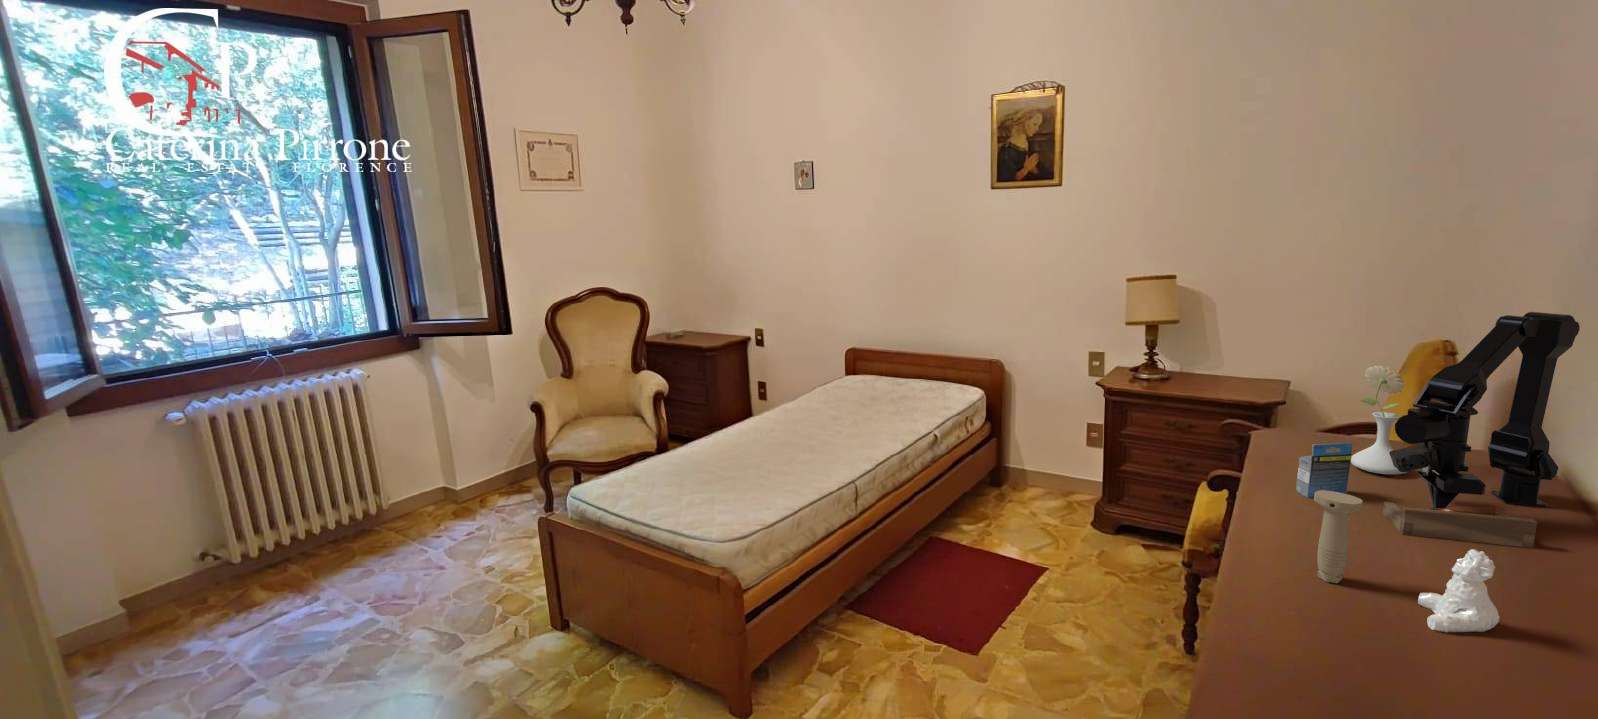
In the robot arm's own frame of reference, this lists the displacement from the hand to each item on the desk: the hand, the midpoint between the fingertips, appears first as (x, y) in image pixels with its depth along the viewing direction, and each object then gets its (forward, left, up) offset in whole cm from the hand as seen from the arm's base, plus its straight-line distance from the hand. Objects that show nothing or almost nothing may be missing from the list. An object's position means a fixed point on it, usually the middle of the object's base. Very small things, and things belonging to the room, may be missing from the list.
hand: (1438, 510), depth 143 cm
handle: (+37, -27, -1) cm, 46 cm away
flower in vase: (-27, -2, -1) cm, 27 cm away
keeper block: (+7, 0, -1) cm, 7 cm away
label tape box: (-6, -18, -1) cm, 19 cm away
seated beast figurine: (+46, -13, -1) cm, 48 cm away
